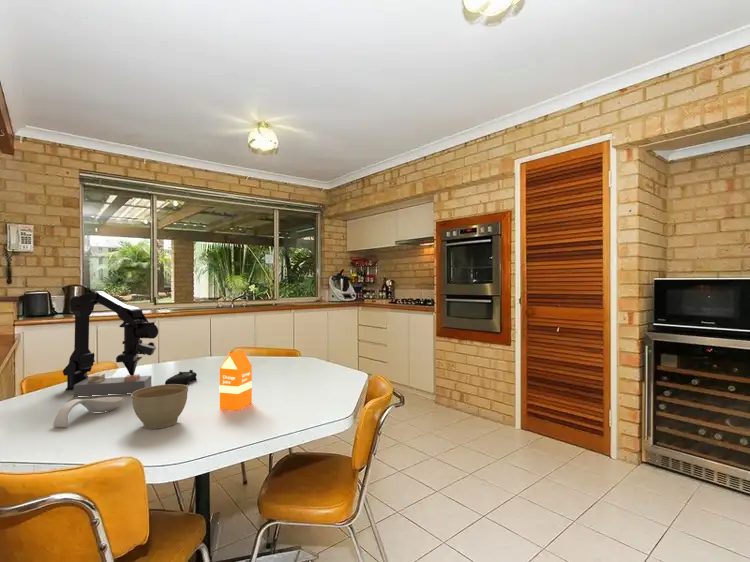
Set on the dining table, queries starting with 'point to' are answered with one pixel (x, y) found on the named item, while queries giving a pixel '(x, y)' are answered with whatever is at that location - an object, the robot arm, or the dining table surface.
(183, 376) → the gaming controller
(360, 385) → the dining table surface
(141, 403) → the planter bowl
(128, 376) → the terracotta key
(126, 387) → the key housing
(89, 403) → the spoon rest
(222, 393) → the orange juice
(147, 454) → the dining table surface
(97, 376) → the ash key
